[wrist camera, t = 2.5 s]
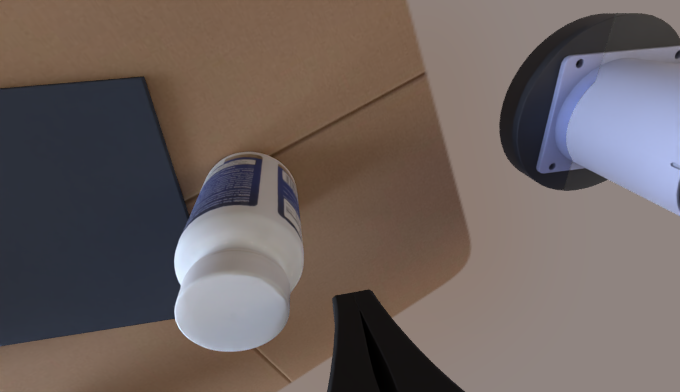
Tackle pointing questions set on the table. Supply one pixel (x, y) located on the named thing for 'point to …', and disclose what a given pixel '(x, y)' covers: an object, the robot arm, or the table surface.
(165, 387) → the table surface
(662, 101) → the robot arm
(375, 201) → the table surface
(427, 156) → the table surface
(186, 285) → the pill bottle
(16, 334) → the mat
